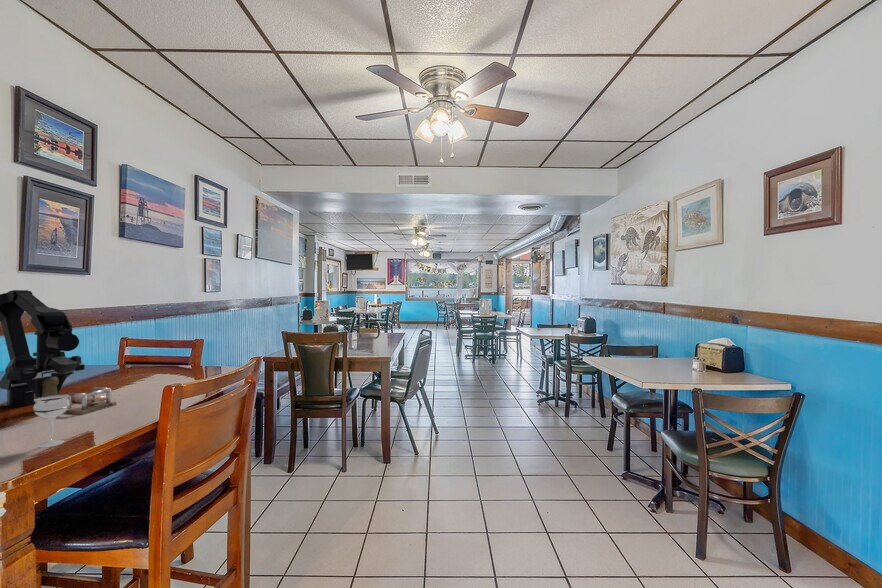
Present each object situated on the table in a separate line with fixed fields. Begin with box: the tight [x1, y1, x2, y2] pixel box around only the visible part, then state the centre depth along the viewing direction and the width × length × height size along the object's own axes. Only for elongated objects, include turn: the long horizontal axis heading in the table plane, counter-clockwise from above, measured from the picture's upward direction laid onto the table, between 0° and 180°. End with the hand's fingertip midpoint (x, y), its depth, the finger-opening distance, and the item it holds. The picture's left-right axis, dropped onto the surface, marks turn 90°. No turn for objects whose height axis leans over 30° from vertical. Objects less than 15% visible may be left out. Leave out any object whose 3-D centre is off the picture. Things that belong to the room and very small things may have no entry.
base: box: [63, 400, 117, 415], centre depth 130 cm, size 9×11×1 cm
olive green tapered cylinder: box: [42, 375, 59, 397], centre depth 128 cm, size 6×6×11 cm
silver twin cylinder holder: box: [66, 386, 112, 410], centre depth 130 cm, size 7×9×5 cm
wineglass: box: [32, 394, 70, 449], centre depth 101 cm, size 7×7×12 cm
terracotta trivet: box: [74, 393, 112, 404], centre depth 142 cm, size 10×10×1 cm
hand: (47, 396), depth 128 cm, fingers closed on olive green tapered cylinder, 4 cm apart
